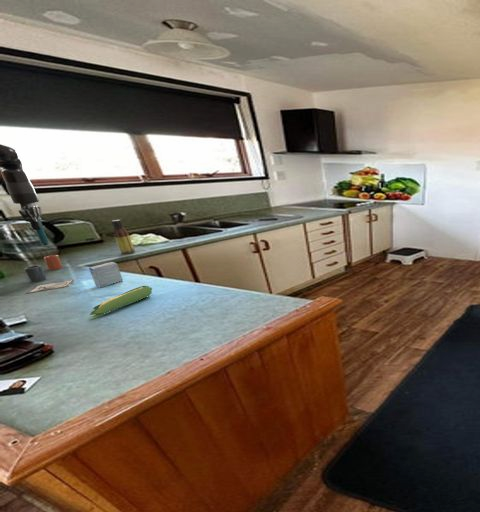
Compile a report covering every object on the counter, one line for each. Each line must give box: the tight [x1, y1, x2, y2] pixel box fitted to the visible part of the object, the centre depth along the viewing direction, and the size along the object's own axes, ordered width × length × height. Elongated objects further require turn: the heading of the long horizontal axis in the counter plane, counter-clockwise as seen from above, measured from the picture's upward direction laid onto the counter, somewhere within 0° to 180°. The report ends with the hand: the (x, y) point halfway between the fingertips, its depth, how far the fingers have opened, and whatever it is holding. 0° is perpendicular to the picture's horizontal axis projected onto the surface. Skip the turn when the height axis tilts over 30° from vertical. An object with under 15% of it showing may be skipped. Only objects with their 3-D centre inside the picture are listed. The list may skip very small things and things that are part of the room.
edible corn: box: [88, 285, 153, 320], centre depth 99 cm, size 5×20×5 cm, turn 162°
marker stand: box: [23, 264, 47, 284], centre depth 122 cm, size 5×5×7 cm
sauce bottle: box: [111, 219, 136, 255], centre depth 158 cm, size 7×6×20 cm
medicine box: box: [88, 261, 124, 288], centre depth 118 cm, size 8×4×9 cm, turn 154°
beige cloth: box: [25, 279, 76, 295], centre depth 116 cm, size 12×9×1 cm
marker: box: [35, 218, 50, 246], centre depth 131 cm, size 2×2×13 cm
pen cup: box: [43, 254, 64, 271], centre depth 136 cm, size 5×5×7 cm
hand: (38, 228), depth 130 cm, fingers closed on marker, 2 cm apart
